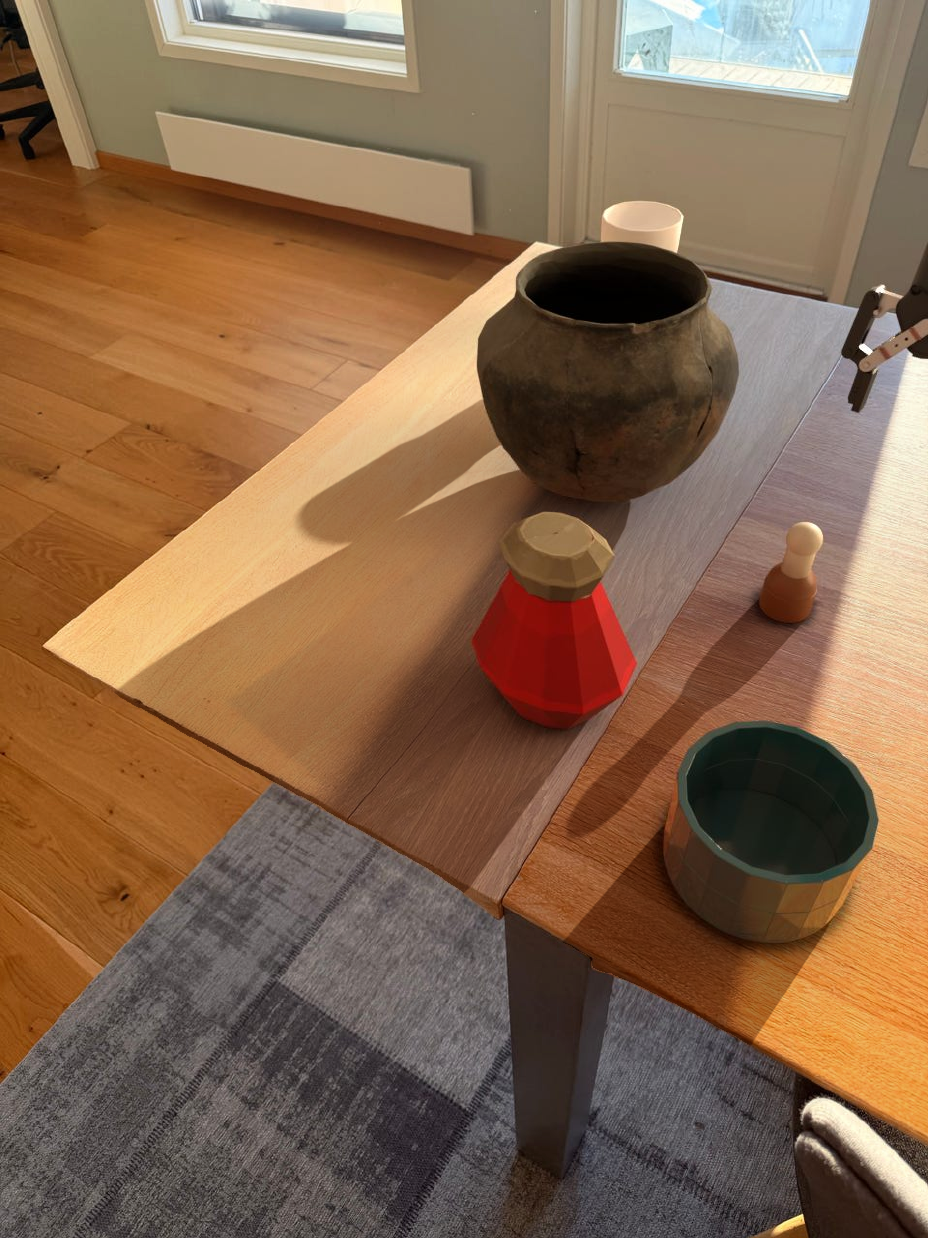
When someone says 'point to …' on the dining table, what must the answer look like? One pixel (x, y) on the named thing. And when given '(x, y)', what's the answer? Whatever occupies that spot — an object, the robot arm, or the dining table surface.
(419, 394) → the dining table surface
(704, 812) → the bowl
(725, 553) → the dining table surface
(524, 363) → the pot
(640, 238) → the cup
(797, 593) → the drumstick
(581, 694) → the bottle
